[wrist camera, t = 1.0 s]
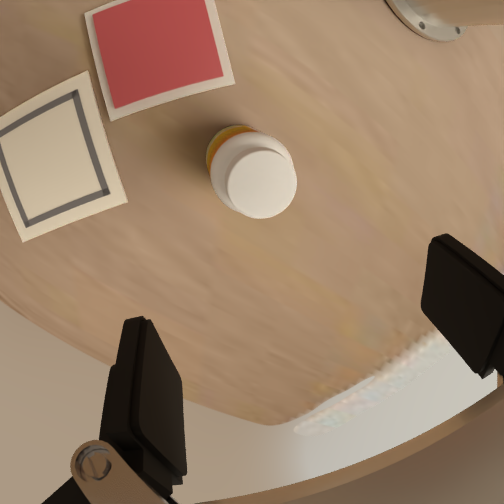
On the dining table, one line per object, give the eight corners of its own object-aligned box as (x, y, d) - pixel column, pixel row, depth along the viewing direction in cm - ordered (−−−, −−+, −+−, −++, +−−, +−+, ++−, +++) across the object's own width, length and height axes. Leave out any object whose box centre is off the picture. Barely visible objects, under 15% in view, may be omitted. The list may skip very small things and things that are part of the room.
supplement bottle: (196, 176, 26) (200, 216, 17) (218, 115, 24) (233, 123, 15) (256, 194, 28) (287, 241, 19) (278, 137, 26) (323, 157, 17)
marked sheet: (88, 70, 20) (87, 70, 19) (128, 201, 26) (127, 202, 25) (-17, 129, 19) (-19, 129, 19) (24, 241, 25) (22, 242, 25)
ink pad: (206, -20, 18) (208, -29, 16) (233, 84, 23) (236, 83, 21) (88, 16, 17) (81, 10, 16) (113, 120, 22) (108, 122, 21)
